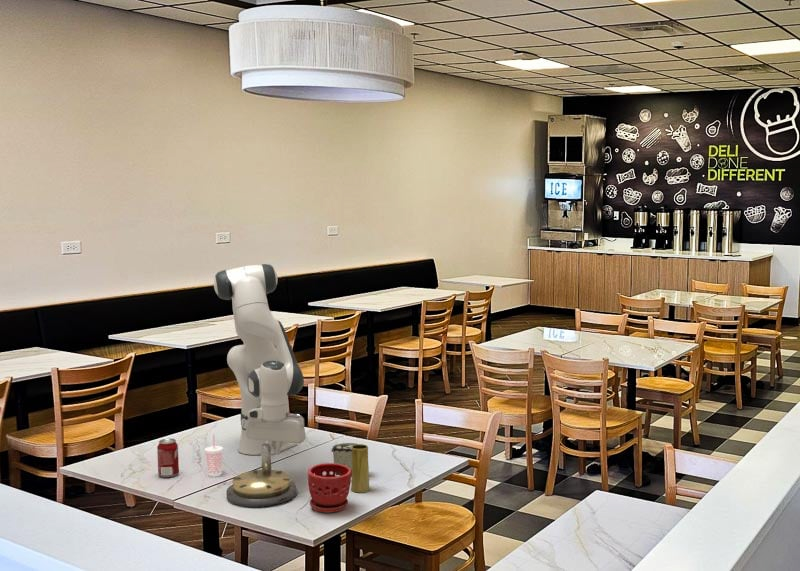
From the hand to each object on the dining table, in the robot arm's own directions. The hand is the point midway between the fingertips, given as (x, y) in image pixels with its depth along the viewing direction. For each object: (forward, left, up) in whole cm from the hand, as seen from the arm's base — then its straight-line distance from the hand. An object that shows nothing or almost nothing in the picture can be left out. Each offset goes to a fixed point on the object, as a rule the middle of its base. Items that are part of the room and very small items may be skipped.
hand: (276, 454), depth 268 cm
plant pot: (0, +25, -12) cm, 28 cm away
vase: (-17, +21, -12) cm, 30 cm away
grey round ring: (+7, +1, -11) cm, 13 cm away
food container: (-26, +8, -12) cm, 30 cm away
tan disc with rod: (+7, +1, -9) cm, 12 cm away
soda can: (+16, -38, -12) cm, 43 cm away
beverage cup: (+5, -27, -12) cm, 30 cm away
